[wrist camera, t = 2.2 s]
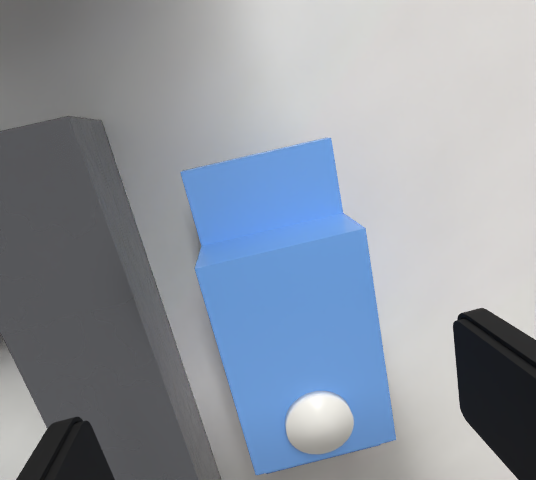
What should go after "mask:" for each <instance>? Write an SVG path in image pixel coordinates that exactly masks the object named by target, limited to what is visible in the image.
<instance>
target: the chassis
mask: <svg viewBox="0 0 536 480" xmlns="http://www.w3.org/2000/svg"><path fill="white" fill-rule="evenodd" d="M0 333H1V334H2V337H3V339H4V341H5V343H6V345H7V347H8V349H9V351H10V353H11V355H12V357H13V359H14V361H15V363H16V365H17V367H18V369H19V371H20V373H21V375H22V377H23V380H24V382H25V384H26V386H27V388H28V390H29V392H30V394H31V396H32V398H33V400H34V402H35V404H36V406H37V408H38V410H39V412H40V414H41V416H42V418H43V421H44V423H45V425H46V427H47V429H48V427H49V426H50V425H51V424H52V423H54V422H58V421H62V420H65V419H69V418H73V417H80V418H81V419H82V420H83V421H89V422H90V424H91V426H92V428H93V430H94V433H95V435H96V437H97V439H98V442H99V444H100V446H101V449H102V451H103V453H104V456H105V458H106V460H107V463H108V465H109V467H110V469H111V472H112V474H113V476H114V479H115V480H221V478H220V475H219V472H218V469H217V466H216V463H215V460H214V457H213V454H212V451H211V448H210V445H209V442H208V439H207V436H206V433H205V430H204V427H203V424H202V421H201V418H200V415H199V412H198V409H197V406H196V403H195V400H194V397H193V394H192V391H191V388H190V385H189V382H188V379H187V376H186V373H185V370H184V367H183V364H182V361H181V358H180V355H179V352H178V349H177V346H176V343H175V340H174V337H173V334H172V331H171V328H170V325H169V322H168V319H167V316H166V313H165V310H164V307H163V304H162V301H161V298H160V295H159V292H158V289H157V286H156V283H155V280H154V277H153V274H152V271H151V268H150V265H149V262H148V259H147V256H146V253H145V250H144V247H143V244H142V241H141V238H140V235H139V232H138V229H137V226H136V223H135V220H134V217H133V214H132V211H131V208H130V205H129V202H128V199H127V196H126V193H125V190H124V187H123V184H122V181H121V178H120V175H119V172H118V169H117V166H116V163H115V160H114V157H113V154H112V151H111V148H110V145H109V142H108V139H107V136H106V133H105V130H104V127H103V124H102V121H101V120H94V119H87V118H79V117H72V116H67V117H62V118H58V119H53V120H49V121H44V122H40V123H35V124H31V125H26V126H22V127H17V128H13V129H8V130H4V131H0Z"/></svg>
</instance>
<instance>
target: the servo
mask: <svg viewBox="0 0 536 480" xmlns="http://www.w3.org/2000/svg"><path fill="white" fill-rule="evenodd" d="M180 173H181V176H182V180H183V183H184V187H185V190H186V194H187V197H188V201H189V204H190V208H191V211H192V215H193V218H194V222H195V225H196V229H197V232H198V236H199V239H200V243H201V250H200V253H199V256H198V260H197V263H196V266H195V271H196V275H197V278H198V281H199V285H200V288H201V292H202V295H203V298H204V302H205V305H206V308H207V312H208V315H209V319H210V322H211V325H212V329H213V332H214V335H215V339H216V342H217V346H218V349H219V352H220V356H221V359H222V363H223V366H224V369H225V373H226V376H227V379H228V383H229V386H230V390H231V393H232V396H233V400H234V403H235V406H236V410H237V413H238V417H239V420H240V423H241V427H242V430H243V434H244V437H245V440H246V444H247V447H248V450H249V454H250V457H251V461H252V464H253V467H254V471H255V474H256V475H260V474H263V473H266V474H268V473H272V472H276V471H280V470H284V469H288V468H292V467H296V466H300V465H304V464H308V463H311V462H315V461H319V460H323V459H327V458H331V457H335V456H339V455H343V454H347V453H351V452H355V451H359V450H363V449H367V448H371V447H374V446H378V445H380V444H382V443H386V442H390V441H393V440H396V435H395V429H394V422H393V415H392V408H391V401H390V394H389V387H388V380H387V373H386V366H385V360H384V353H383V346H382V339H381V332H380V325H379V318H378V311H377V304H376V297H375V291H374V284H373V277H372V270H371V263H370V256H369V249H368V242H367V235H366V228H364V227H363V226H361V225H360V224H358V223H357V222H356V221H354V220H353V219H351V218H350V217H348V216H347V215H345V214H344V213H343V209H342V203H341V197H340V191H339V185H338V178H337V172H336V166H335V160H334V154H333V147H332V141H331V138H323V139H319V140H314V141H310V142H306V143H301V144H297V145H292V146H288V147H284V148H279V149H275V150H271V151H266V152H262V153H258V154H253V155H249V156H245V157H240V158H236V159H231V160H227V161H223V162H218V163H214V164H210V165H205V166H201V167H197V168H192V169H188V170H183V171H182V172H180Z"/></svg>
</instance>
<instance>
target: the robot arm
mask: <svg viewBox="0 0 536 480" xmlns="http://www.w3.org/2000/svg"><path fill="white" fill-rule="evenodd" d="M453 332H454V344H455V355H456V367H457V378H458V390H459V401H460V409H461V412H462V414H463V416H464V418H465V419H466V421H467V422H468V423H469V424H470V426H471V427H472V428H473V429H474V430H475V431H476V432H477V433H478V435H479V436H480V437H481V438H482V439H483V440H484V441H485V442H486V444H487V445H488V446H489V447H490V448H491V449H492V450H493V451H494V453H495V454H496V455H497V456H498V457H499V458H500V459H501V460H502V462H503V463H504V464H505V465H506V466H507V467H508V468H509V469H510V471H511V472H512V473H513V474H514V475H515V476H516V477H517V479H518V480H536V340H535V339H533V338H532V337H530V336H528V335H527V334H525V333H523V332H522V331H520V330H519V329H517V328H515V327H514V326H512V325H511V324H509V323H507V322H506V321H504V320H503V319H501V318H499V317H498V316H496V315H494V314H493V313H491V312H490V311H488V310H486V309H484V308H479V309H475V310H472V311H468V312H464V313H461V314H459V316H458V320H457V321H455V322H454V323H453ZM16 480H115V479H114V476H113V474H112V472H111V469H110V467H109V465H108V463H107V460H106V458H105V456H104V453H103V451H102V449H101V446H100V444H99V442H98V439H97V437H96V435H95V433H94V430H93V428H92V426H91V424H90V422H89V421H83V420H82V419H81V418H80V417H73V418H69V419H65V420H62V421H58V422H54V423H52V424H51V425H50V426H49V427H48V429H47V430H46V432H45V434H44V435H43V437H42V439H41V440H40V442H39V443H38V445H37V447H36V448H35V450H34V452H33V453H32V455H31V456H30V458H29V460H28V461H27V463H26V465H25V466H24V468H23V469H22V471H21V473H20V474H19V476H18V478H17V479H16Z"/></svg>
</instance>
